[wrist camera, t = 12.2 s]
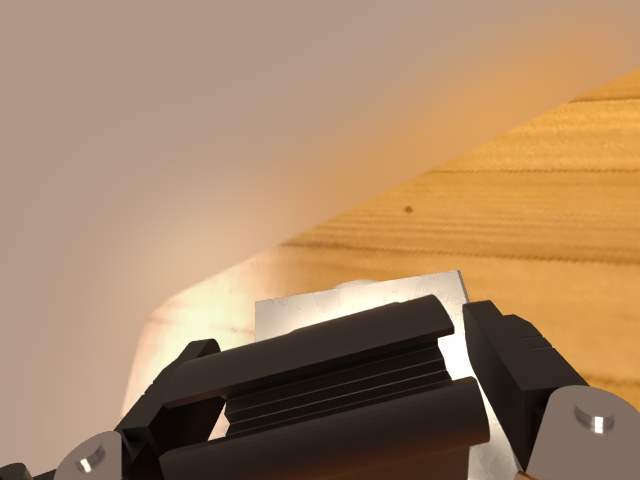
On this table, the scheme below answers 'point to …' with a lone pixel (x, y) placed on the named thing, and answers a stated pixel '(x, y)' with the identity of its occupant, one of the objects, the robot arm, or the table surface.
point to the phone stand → (336, 403)
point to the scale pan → (307, 309)
